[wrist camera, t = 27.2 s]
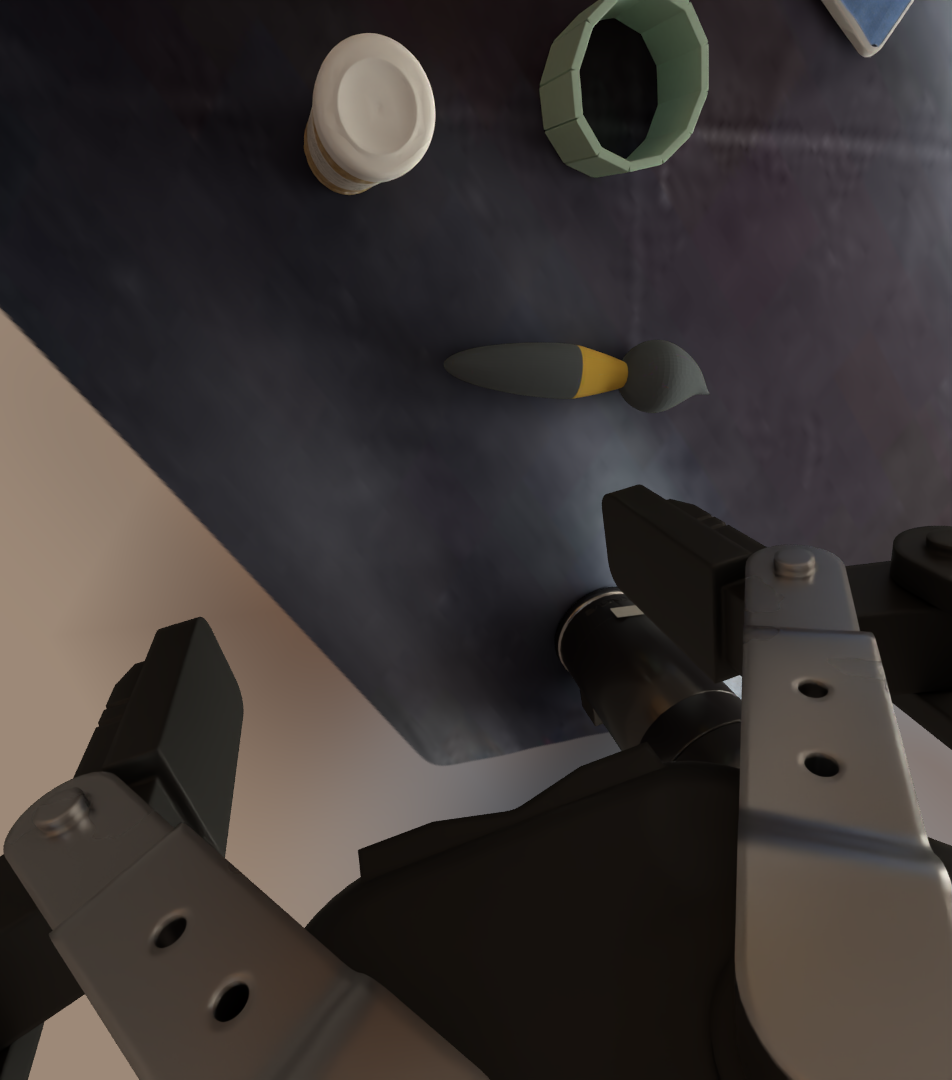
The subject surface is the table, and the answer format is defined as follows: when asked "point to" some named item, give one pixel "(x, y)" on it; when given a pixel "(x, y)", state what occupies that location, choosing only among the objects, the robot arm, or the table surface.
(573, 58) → the bracelet
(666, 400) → the paintbrush
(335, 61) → the sprinkles bottle
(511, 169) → the table surface
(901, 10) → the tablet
